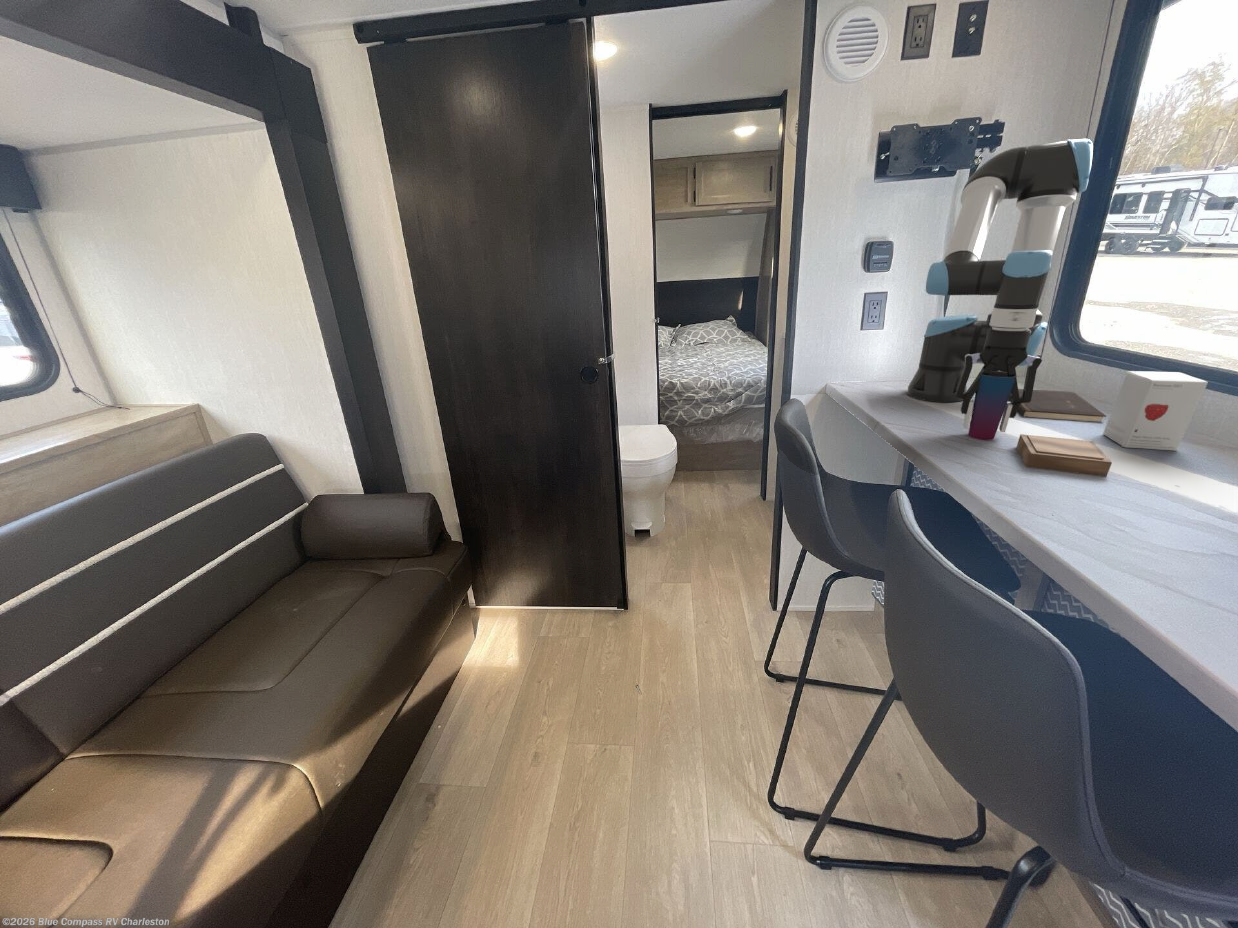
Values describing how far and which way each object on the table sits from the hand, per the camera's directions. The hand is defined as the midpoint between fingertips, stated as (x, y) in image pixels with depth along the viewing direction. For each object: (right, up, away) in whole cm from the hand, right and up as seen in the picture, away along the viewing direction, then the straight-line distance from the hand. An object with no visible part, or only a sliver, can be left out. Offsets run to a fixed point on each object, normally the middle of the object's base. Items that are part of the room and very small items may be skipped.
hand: (983, 428), depth 112 cm
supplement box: (+29, -4, -7) cm, 30 cm away
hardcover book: (+31, +7, +18) cm, 37 cm away
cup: (0, -2, +1) cm, 2 cm away
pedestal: (+5, -8, -14) cm, 16 cm away
